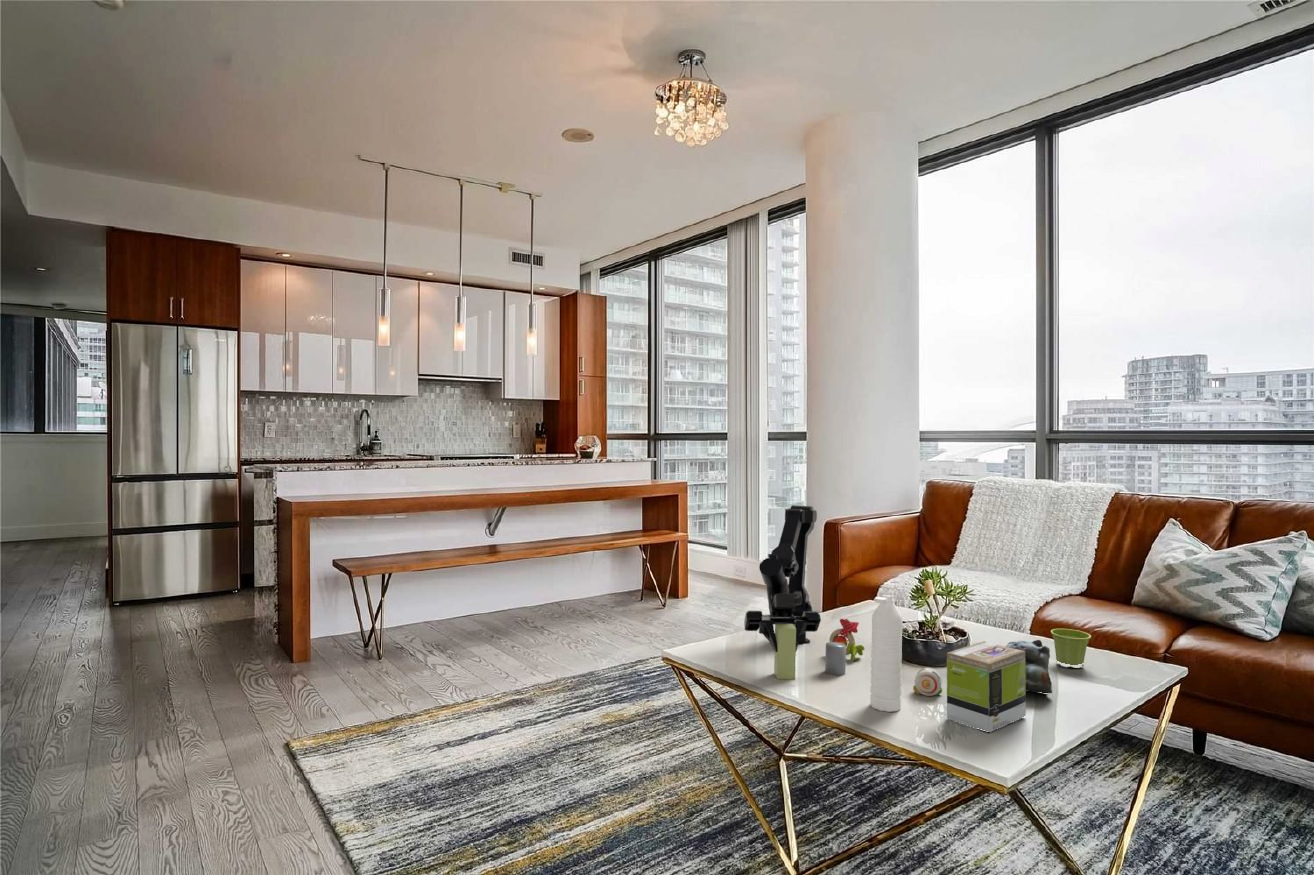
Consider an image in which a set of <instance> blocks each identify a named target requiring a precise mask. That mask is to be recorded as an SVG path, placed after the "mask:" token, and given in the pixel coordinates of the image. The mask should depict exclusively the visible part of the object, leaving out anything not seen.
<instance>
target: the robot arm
mask: <svg viewBox="0 0 1314 875" xmlns="http://www.w3.org/2000/svg"><path fill="white" fill-rule="evenodd" d="M784 510H785V511H784V524H783V527H782V532H781V535H780V539H779V542H778V545H777V546H776V547H775V548H773V549H772V550H771V553H770V554H769V556H768V557H766V558H765V559H763V560H762V561H761V562H760V564H759V572H760V574H761V575H760V576H761V578H762V581H763V583H764V585H766V586H765V587H766V594H767V602H768V610H769V614H763V612H762V610H747V611H746V612H745V616H744V623H743V625H744V631H745V632H758V633H759V635H763V636H764V638H766V640H767V641H768V642H769V644H770V645H771V647H772V649H773V650H774V653H775V652H777V650H778V649H777V641H776V637H775V624H793V625H794V627H795V628H796V652H797V651H798V647H799V646H798V645H799V644H800V643H801V644H803V643H804V644H805V643H806V644H807V643H811V640H810V639H808V637H807V632H808V633H809V632H812V633H813V632H817V631H818V630H819V626H820V624H821V622H822V619H821V614H820V612H818V611H817V610H816V611H814V610H813V606H812V604H811V601H810V595H809V593H808V591H807V588H806V586H805V583H806V582H805V580H806V568H807V567H806V566H807V565H806V564H807V553H808V552H807V551H808V538H809V535H811V533H812V532H813V531H814V528H815V523H816V522H817V518H818V517H817V516H818V514H817V513H818V512H817V509H814V507H813V506H811V505H791V506H790V507H789V508H785V509H784ZM787 578H788V579H787Z"/></svg>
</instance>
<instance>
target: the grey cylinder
mask: <svg viewBox="0 0 1314 875" xmlns="http://www.w3.org/2000/svg"><path fill="white" fill-rule="evenodd" d="M846 648H847V647H846V645H845V644H842V643H838V642H826V643H825V657H824V658H825V659H824V661H825V662H824V663H825V664H824V665H825V668H824V669H825V671H824V672H825V673H826V674H827V675H831V676H838V677H839V676H845V675H846V665H847V664H846V660H847V659H846V658H847V655H846Z"/></svg>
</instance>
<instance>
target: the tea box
mask: <svg viewBox="0 0 1314 875" xmlns="http://www.w3.org/2000/svg"><path fill="white" fill-rule="evenodd" d="M1005 646H1006V645H1001V644H1000V645H999V644H995V643H991V642H987V641H981V642H977V643H974V644H971V645H968V646H964V647H961V648H958V649H955V650H952V651H949V652H946V719H947V720H948V719H950V720H949V721H951V720H953V721H952V722H954V721H957V722H960V723H963V724H965V725H964V726H966V725H968V726H971V727H974V728H979V729H982V730H985V731H988V732H990V733H992V732H991V731H993V730H995V729H997V728H999V729H1001V727H1002V728H1004V727H1006V726H1008V725H1007V724H1009V723H1011V722H1013V721H1015V722H1017V721H1016V720H1018V719H1020V718H1022V717H1024V716H1026V714H1027V711H1026V710H1027V709H1026V708H1027V706H1026V705H1027V701H1026V700H1027V698H1026V696H1027V695H1026V693H1027V691H1026V674H1025V671H1026V670H1025V651H1022V650H1018V649H1013V648H1009V647H1005ZM1026 717H1027V716H1026ZM1022 719H1023V718H1022ZM1020 720H1021V719H1020ZM1018 721H1019V720H1018ZM957 722H956V723H957ZM960 723H959V724H960ZM1013 723H1014V722H1013ZM963 724H962V725H963ZM1011 724H1012V723H1011ZM1005 725H1006V726H1005ZM1009 725H1010V724H1009ZM968 726H967V727H968ZM1003 726H1004V727H1003ZM971 727H970V728H971ZM974 728H973V729H974ZM997 730H998V729H997ZM995 731H996V730H995ZM993 732H994V731H993Z"/></svg>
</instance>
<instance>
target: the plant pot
mask: <svg viewBox="0 0 1314 875" xmlns="http://www.w3.org/2000/svg"><path fill="white" fill-rule="evenodd" d="M1050 633H1051V634H1052V639H1053V643H1054V649H1055V650H1054V651H1055V658H1056V660H1057V661H1059V662H1061V663H1065V664H1070V665H1078V664H1082V663H1085V657H1086V652H1087V647H1088V644H1089V642H1090V639H1091V638H1092V635H1091V634H1090V633H1088V632H1085V631H1081V630H1077V629H1071V628H1070V629H1069V628H1054V629H1051V630H1050ZM1057 661H1056V662H1057Z"/></svg>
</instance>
